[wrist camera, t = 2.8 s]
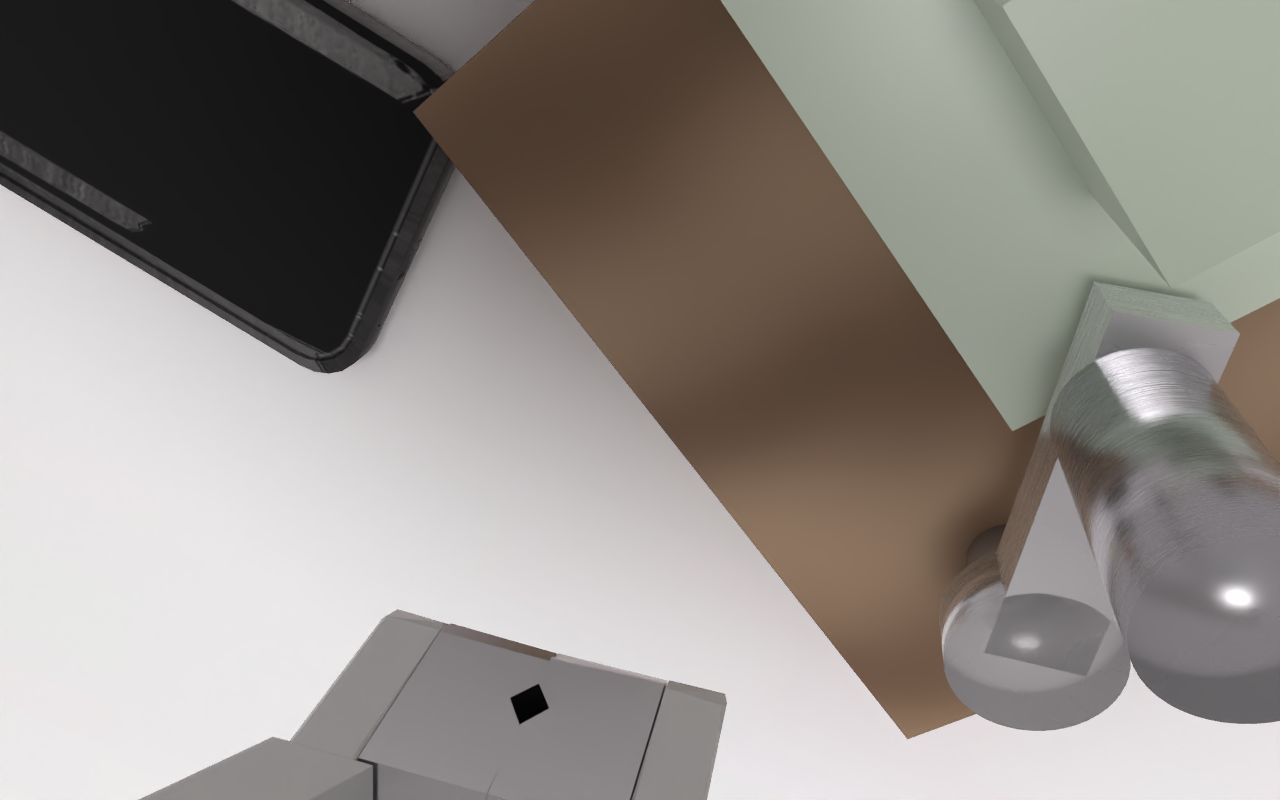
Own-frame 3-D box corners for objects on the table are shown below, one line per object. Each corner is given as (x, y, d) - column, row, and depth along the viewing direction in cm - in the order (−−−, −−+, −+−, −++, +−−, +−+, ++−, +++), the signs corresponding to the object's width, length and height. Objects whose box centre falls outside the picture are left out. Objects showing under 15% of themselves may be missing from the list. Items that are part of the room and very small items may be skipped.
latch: (1081, 697, 17) (1174, 1030, 12) (920, 659, 17) (942, 964, 12) (1256, 310, 13) (1494, 542, 8) (1051, 274, 14) (1158, 474, 9)
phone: (-214, -337, 18) (475, 96, 18) (-158, -322, 19) (495, 88, 19) (-233, 48, 21) (341, 395, 22) (-185, 43, 22) (363, 376, 23)
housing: (475, 87, 19) (375, 126, 15) (1711, -1012, 11) (2189, -1550, 7) (903, 646, 23) (910, 791, 19) (2074, 156, 14) (2516, 239, 10)
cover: (698, -54, 14) (618, -48, 10) (1338, -602, 11) (1694, -1008, 6) (1003, 399, 16) (1054, 577, 12) (1630, 75, 13) (2058, 156, 8)
